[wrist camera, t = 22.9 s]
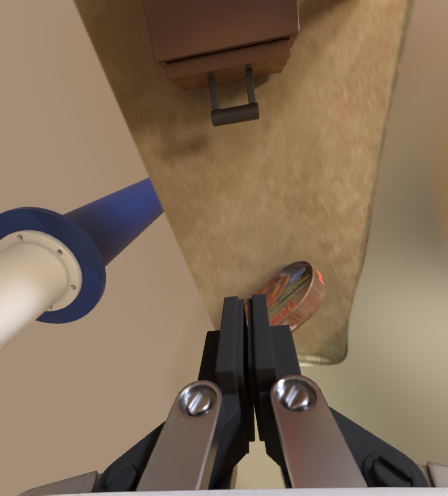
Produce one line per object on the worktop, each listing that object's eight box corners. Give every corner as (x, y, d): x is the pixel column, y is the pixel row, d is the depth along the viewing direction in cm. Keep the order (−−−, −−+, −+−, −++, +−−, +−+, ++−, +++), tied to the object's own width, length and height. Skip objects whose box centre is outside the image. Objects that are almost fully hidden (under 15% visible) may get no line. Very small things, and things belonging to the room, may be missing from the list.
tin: (303, 250, 37) (318, 281, 29) (319, 265, 37) (339, 299, 30) (225, 320, 42) (220, 363, 34) (241, 332, 42) (240, 377, 34)
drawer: (284, 116, 31) (294, 111, 24) (191, 132, 32) (178, 131, 26) (265, -140, 24) (272, -237, 17) (148, -106, 25) (116, -187, 19)
